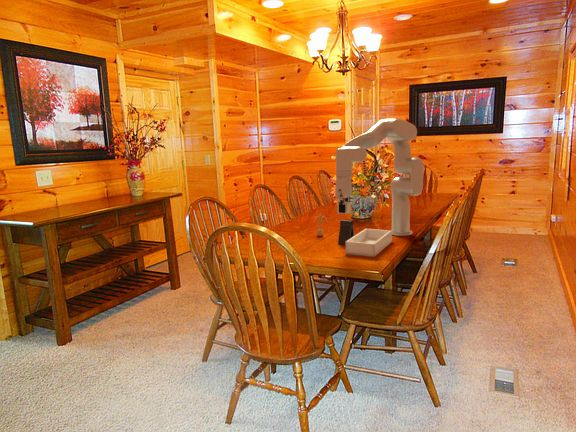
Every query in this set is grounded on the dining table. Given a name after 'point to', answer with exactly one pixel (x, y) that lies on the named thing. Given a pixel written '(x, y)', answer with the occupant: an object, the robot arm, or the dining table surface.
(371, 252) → the tote
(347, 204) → the beige cube
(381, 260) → the dining table surface
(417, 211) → the dining table surface
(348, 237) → the phone stand
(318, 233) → the figurine
